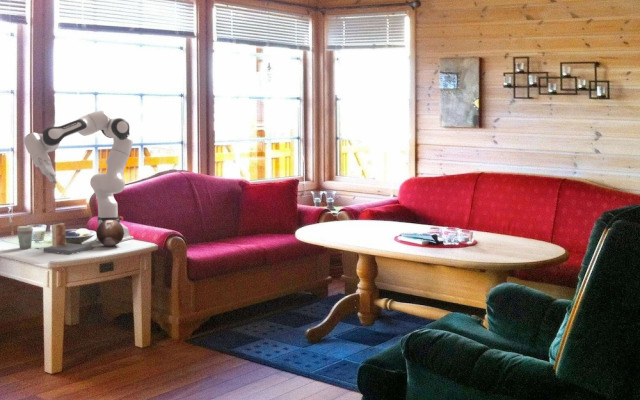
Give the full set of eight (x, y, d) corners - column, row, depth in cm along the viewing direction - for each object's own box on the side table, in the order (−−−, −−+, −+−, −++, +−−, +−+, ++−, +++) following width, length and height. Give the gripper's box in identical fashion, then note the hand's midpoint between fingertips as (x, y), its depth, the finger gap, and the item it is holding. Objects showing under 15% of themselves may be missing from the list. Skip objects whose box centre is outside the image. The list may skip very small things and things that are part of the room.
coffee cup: (19, 250, 444) (19, 228, 442) (15, 247, 451) (14, 226, 449) (35, 248, 449) (35, 227, 448) (31, 246, 456) (30, 225, 454)
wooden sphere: (98, 249, 450) (97, 222, 448) (95, 244, 464) (94, 218, 462) (126, 247, 456) (125, 221, 454) (122, 243, 469) (121, 217, 468)
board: (65, 246, 457) (65, 242, 456) (92, 249, 450) (92, 245, 450) (43, 251, 440) (43, 248, 440) (70, 254, 433) (70, 250, 433)
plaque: (62, 244, 451) (61, 223, 450) (66, 244, 450) (65, 223, 449) (52, 246, 444) (51, 225, 442) (56, 247, 443) (55, 225, 441)
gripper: (42, 154, 438) (54, 176, 437) (51, 160, 458) (62, 182, 458) (31, 159, 437) (43, 182, 437) (41, 166, 458) (52, 187, 457)
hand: (53, 182), depth 447 cm, fingers open, 8 cm apart
